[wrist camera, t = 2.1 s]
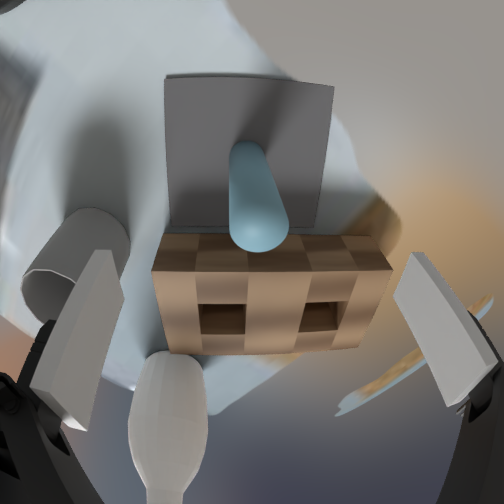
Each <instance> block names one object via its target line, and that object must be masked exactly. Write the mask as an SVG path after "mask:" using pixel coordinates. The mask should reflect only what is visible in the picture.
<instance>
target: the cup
mask: <svg viewBox="0 0 504 504" xmlns="http://www.w3.org/2000/svg"><path fill="white" fill-rule="evenodd" d="M95 250H111V251H112V255H113V259H114V263H115V267H116V271H117V275H118V278H119V280H120V278H121V275H122V273H123V270H124V268H125V265H126V263H127V261H128V258H129V256H130V240H129V238H128V235H127V233H126V231H125V229H124V227H123V225H122V224H121V223H119V222H118V221H117V220H116V219H115V218H114V217H113V216H112V215H111V214H110V213H107V212H105V211H102V210H100V209H97V208H95V207H94V208H79V209H78V210H76V211H75V212H74V213H72V214H71V215H69V216H68V217H67V218H66V220H65V221H64V222H63V223H62V224H61V226H60V227H59V228H58V229H57V231H56V232H55V233H54V234H53V236H52V237H51V238H50V239H49V241H48V242H47V243H46V245H45V246H44V247H43V249H42V250H41V251H40V253H39V254H38V255H37V257H36V258H35V260H34V261H33V262H32V264H31V265H30V267H29V268H28V269H27V271H26V272H25V274H24V275H23V277H22V282H21V287H20V290H21V293H22V297H23V300H24V302H25V305H26V306H27V307H28V309H29V310H30V311H31V313H32V314H33V315H34V317H35V318H36V319H37V320H38V321H40V322H41V323H42V324H45V323H46V322H47V321H48V320H49V319H51V320H58V318H59V315H60V313H61V311H62V309H63V307H64V305H65V303H66V301H67V299H68V298H69V296H70V294H71V292H72V290H73V288H74V286H75V284H76V282H77V281H78V279H79V277H80V275H81V273H82V272H83V270H84V268H85V266H86V265H87V263H88V261H89V259H90V258H91V256H92V254H93V253H94V251H95Z"/></svg>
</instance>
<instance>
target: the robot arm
mask: <svg viewBox="0 0 504 504" xmlns="http://www.w3.org/2000/svg"><path fill="white" fill-rule="evenodd" d="M24 1H25V0H0V15H1V14H3V13H6V12H8V11H10V10H12V9H14V8H15V7H17V6H18V5H20V4H21V3H23V2H24ZM393 298H394V300H395V301H396V303H397V305H398V307H399V309H400V310H401V312H402V314H403V316H404V318H405V320H406V322H407V323H408V325H409V327H410V329H411V331H412V333H413V335H414V337H415V339H416V341H417V343H418V345H419V347H420V349H421V351H422V353H423V355H424V357H425V359H426V361H427V363H428V365H429V367H430V369H431V371H432V374H433V376H434V378H435V380H436V382H437V385H438V387H439V389H440V392H441V394H442V396H443V399H444V401H445V403H446V406H447V407H448V406H451V405H453V404H456V403H459V402H460V401H461V400H462V399H463V398H464V397H465V396H467V395H469V397H470V399H469V400H468V401H467V402H466V403H465V404H464V405H462V406H461V407H460V408H459V409H458V410H457V413H456V414H459V413H460V412H461V411H462V410H464V409H465V411H464V412H463V413H462V414H461V416H462V417H463V420H462V425H461V429H460V433H459V437H458V441H457V444H456V448H455V451H454V455H453V458H452V461H451V465H450V467H449V471H448V474H447V476H446V479H445V482H444V485H443V487H442V490H441V492H440V495H439V498H438V500H437V502H436V504H504V362H503V361H502V359H501V357H500V356H499V354H498V352H497V350H496V349H495V347H494V345H493V344H492V342H491V340H490V339H489V337H488V336H486V332H485V331H484V329H482V326H481V325H480V323H479V322H478V320H477V319H476V318H475V317H474V316H473V315H472V314H471V313H470V312H469V311H467V310H466V309H465V307H464V306H463V304H462V303H461V302H460V300H459V299H458V297H457V296H456V295H455V293H454V292H453V290H452V289H451V287H450V286H449V285H448V284H447V282H446V281H445V279H444V278H443V277H442V276H441V274H440V273H439V271H437V269H436V268H435V266H434V265H433V264H432V262H431V261H430V260H429V259H428V257H427V256H426V255H425V254H424V253H423V252H411V254H410V257H409V259H408V262H407V264H406V267H405V269H404V272H403V274H402V277H401V279H400V281H399V284H398V286H397V288H396V291H395V293H394V295H393ZM123 302H124V296H123V292H122V289H121V285H120V282H119V278H118V275H117V271H116V267H115V263H114V259H113V255H112V251H111V250H95V251H94V253H93V254H92V256H91V258H90V259H89V261H88V263H87V265H86V266H85V268H84V270H83V272H82V273H81V275H80V277H79V279H78V281H77V282H76V284H75V286H74V288H73V290H72V292H71V294H70V296H69V298H68V299H67V301H66V303H65V305H64V307H63V309H62V311H61V313H60V315H59V318H58V320H51V319H49V320H48V321H47V322H46V323H45V324H44V325H43V326H42V327H41V328H40V330H39V332H38V334H37V336H36V338H35V343H33V345H32V347H31V349H30V350H31V352H29V354H28V356H27V358H26V361H25V363H24V365H23V368H22V370H21V373H20V375H19V378H18V381H17V383H15V382H14V381H13V379H12V378H11V377H10V376H9V375H7V374H6V373H2V372H0V504H104V502H103V501H102V499H101V498H100V496H99V495H98V493H97V492H96V490H95V488H94V487H93V485H92V484H91V482H90V480H89V479H88V477H87V476H86V474H85V472H84V470H83V469H82V467H81V465H80V463H79V462H78V460H77V458H76V456H75V454H74V453H73V450H72V448H71V446H70V445H69V442H68V440H67V438H66V436H65V434H64V432H63V431H62V429H61V428H60V425H61V421H63V422H64V423H66V424H67V425H68V426H69V427H72V428H76V429H80V430H84V431H88V426H89V422H90V417H91V413H92V408H93V404H94V400H95V396H96V392H97V388H98V384H99V380H100V376H101V373H102V369H103V365H104V362H105V358H106V355H107V352H108V348H109V345H110V342H111V338H112V335H113V332H114V329H115V326H116V323H117V320H118V317H119V314H120V311H121V308H122V305H123Z"/></svg>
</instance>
